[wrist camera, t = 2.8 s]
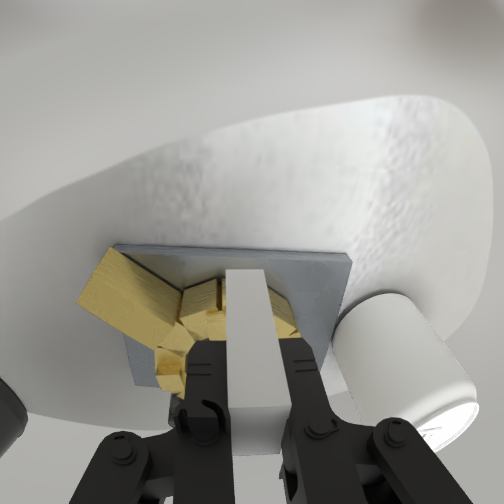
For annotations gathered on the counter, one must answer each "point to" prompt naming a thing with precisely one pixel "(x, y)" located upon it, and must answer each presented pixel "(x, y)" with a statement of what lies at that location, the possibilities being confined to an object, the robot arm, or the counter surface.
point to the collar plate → (277, 279)
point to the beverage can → (403, 370)
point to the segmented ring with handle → (166, 313)
